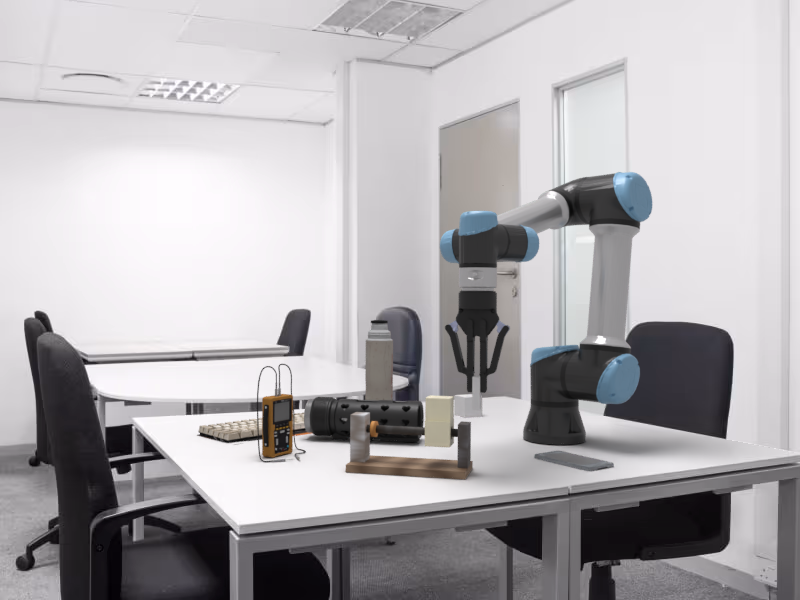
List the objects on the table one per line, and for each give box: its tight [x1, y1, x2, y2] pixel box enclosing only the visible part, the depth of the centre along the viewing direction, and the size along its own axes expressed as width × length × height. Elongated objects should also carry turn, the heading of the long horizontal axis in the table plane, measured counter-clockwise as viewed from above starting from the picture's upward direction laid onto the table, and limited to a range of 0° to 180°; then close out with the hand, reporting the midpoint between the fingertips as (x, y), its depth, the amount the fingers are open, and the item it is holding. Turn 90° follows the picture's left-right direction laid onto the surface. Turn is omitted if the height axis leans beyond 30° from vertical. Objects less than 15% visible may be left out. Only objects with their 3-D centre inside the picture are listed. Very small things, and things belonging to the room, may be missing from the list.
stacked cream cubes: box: [424, 395, 455, 448], centre depth 157 cm, size 5×5×10 cm
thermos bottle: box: [364, 319, 394, 401], centre depth 228 cm, size 8×8×28 cm
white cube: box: [454, 393, 483, 419], centre depth 230 cm, size 6×6×6 cm
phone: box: [533, 450, 615, 472], centre depth 167 cm, size 8×16×1 cm, turn 35°
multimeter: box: [256, 363, 306, 463], centre depth 170 cm, size 15×10×20 cm
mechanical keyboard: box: [196, 412, 314, 446], centre depth 203 cm, size 38×19×3 cm, turn 134°
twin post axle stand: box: [345, 412, 474, 480], centre depth 158 cm, size 24×10×11 cm, turn 77°
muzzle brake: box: [303, 396, 425, 443], centre depth 190 cm, size 10×28×10 cm, turn 78°
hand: (476, 408), depth 155 cm, fingers closed
